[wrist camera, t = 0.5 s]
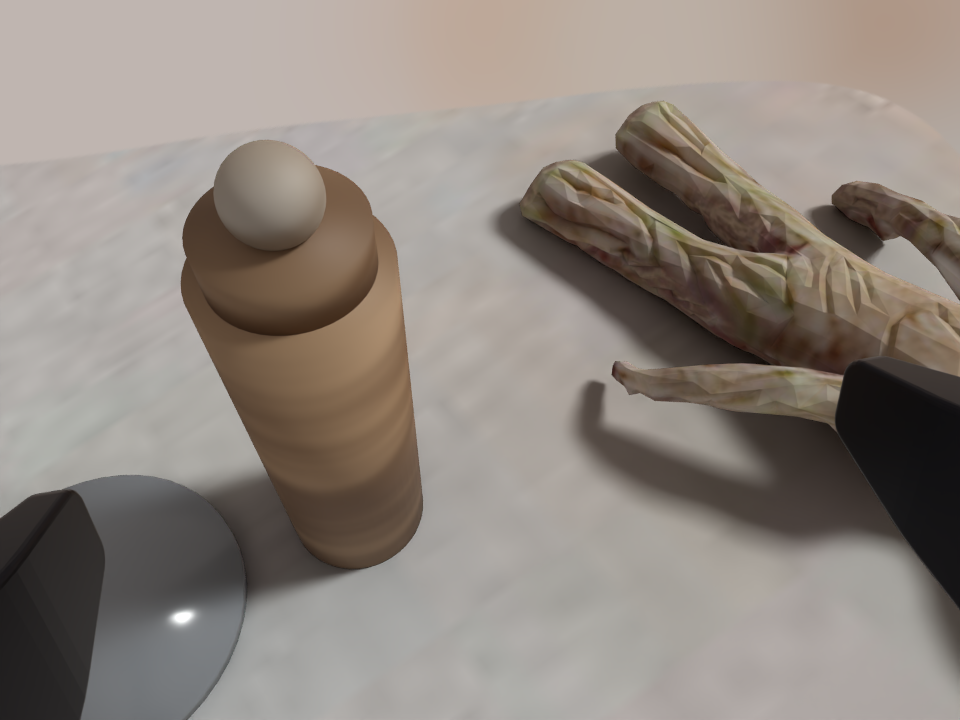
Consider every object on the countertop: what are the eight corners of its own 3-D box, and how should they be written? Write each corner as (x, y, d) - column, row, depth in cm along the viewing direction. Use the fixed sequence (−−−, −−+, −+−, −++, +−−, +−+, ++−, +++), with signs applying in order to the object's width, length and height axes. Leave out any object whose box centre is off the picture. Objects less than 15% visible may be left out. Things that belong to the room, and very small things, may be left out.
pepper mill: (426, 563, 24) (387, 236, 11) (289, 574, 23) (101, 251, 11) (420, 444, 26) (384, 73, 14) (297, 453, 26) (150, 81, 14)
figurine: (457, 285, 34) (1165, 940, 18) (449, 170, 29) (1413, 934, 13) (698, 153, 40) (1378, 555, 24) (727, 40, 35) (1600, 454, 19)
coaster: (231, 764, 20) (225, 762, 20) (-109, 798, 19) (-123, 797, 19) (258, 473, 25) (254, 465, 25) (-9, 492, 25) (-19, 485, 24)
